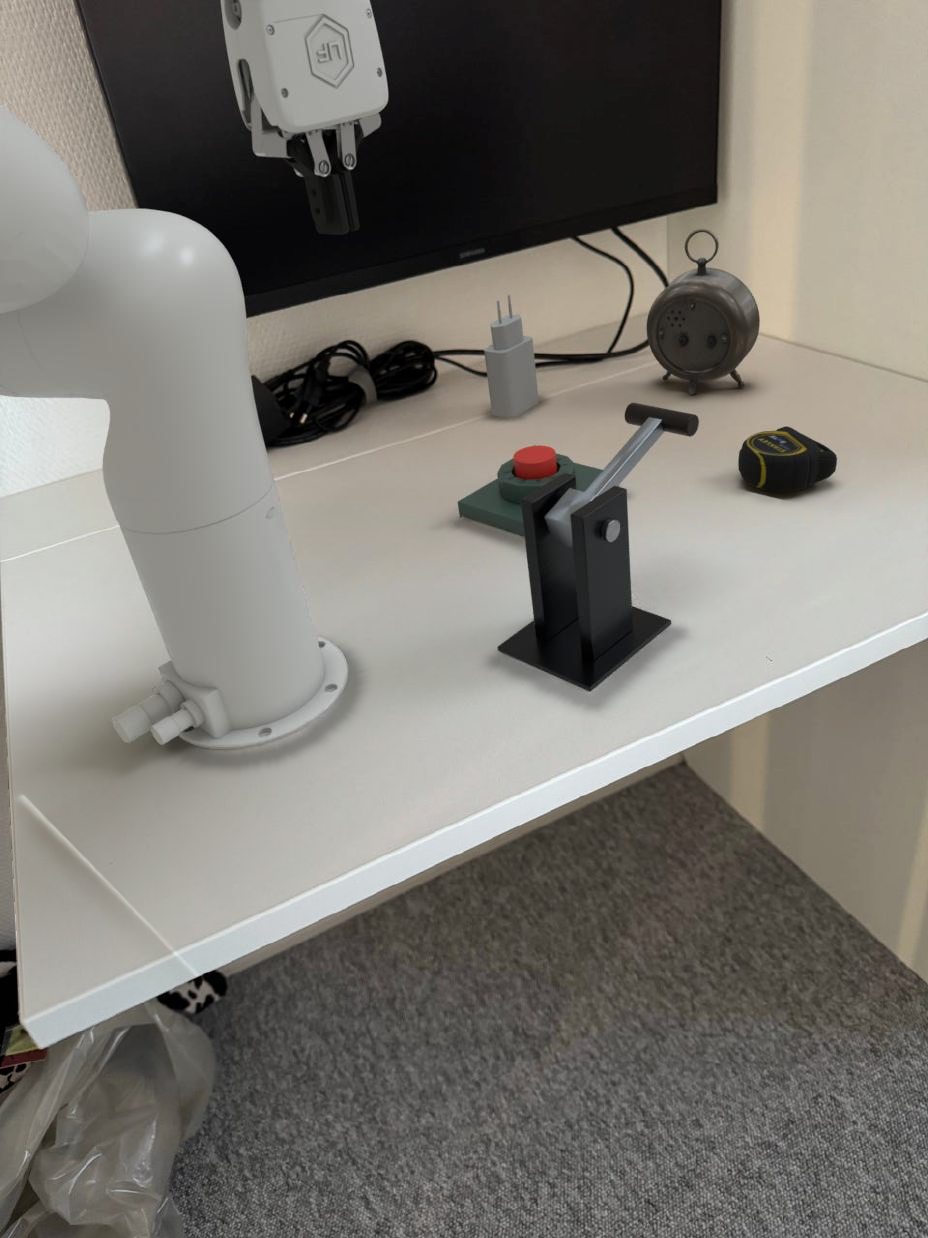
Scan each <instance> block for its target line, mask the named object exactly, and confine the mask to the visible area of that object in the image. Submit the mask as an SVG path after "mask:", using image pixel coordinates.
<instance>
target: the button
mask: <svg viewBox="0 0 928 1238" xmlns="http://www.w3.org/2000/svg"><path fill="white" fill-rule="evenodd" d="M556 454H557V453H556V450H555V449H554V448H553V447H551V446H549V445H531V446H526V447H523V448H520V449H518V450H517V451H516V452H514V454H513V456H512V457H513V458H512V459H514V467H515V475H516V477H517V478H521V479H524V480H531V479H542V478H546V477H550V476H552V475H554V474H555V473H557V462H556Z"/></svg>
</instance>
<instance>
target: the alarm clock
mask: <svg viewBox="0 0 928 1238" xmlns="http://www.w3.org/2000/svg"><path fill="white" fill-rule="evenodd" d="M699 233H706V234H708V235H709V236H710V237H712V239H713V241H714V244H715V250H714V252H713V253H712V256H711V257H710V258H708V259H707V258H706V257H699V258H698V259H695V258H694V257H692V256H691V254H690V251H689V242H690V240H691V238H692V237H694V236H695V235H697V234H699ZM718 239H719V238H718V237H717V236H716V234H715V233H714V232H713V231H711V230H709V229H707V228H698V229H697V228H696V229H695V230H693V231H692V232H691V233H689V235H688V236H687V237H686V239H685V242H684V253H685V254H686V256H687V258H688V259H689V260H690V261H691V262H692V263H696V265H697V268H693V269H690V270H687V271H684V272H683V273H682V274H680V275H678V276H677V277H676V278H674V279H673V280H672V281H671V282H670V283H669V285H668V286H666V287H665V288H664V289H663V290H662V291H661V292H660V293H659V294H658V295H657V297H656V298H655V299H654V301H653V303H652V304H651V306H650V309H649V312H648V315H647V319H646V338H647V342H648V346H649V349H650V351H651V353H652V355H653V357H654V358H655V360H656V361H657V362H658V364H659V365H660V367H662V368H663V369H664V370H665V371H666V372H665V374H663V375H662V381H664V382H666V381H668V380H669V378H670V376H674V377H675V378H678V379H680V380H683V381H686V382H689V384H688V385H689V386H688V394H689V395H690V396H692V395H694V394H695V393H696V388H697V384H698V383H699V384H704V383H712V382H715V381H718V380H721V379H723V378H725V377H727V376H728V375H730V376H731V378H732V379H733V380H734V381H735V382H736V383H737V386H738V388H740V389H743V388H744V387H745V385H746V383H745V382H744V381H743V380H742V377H741V375H740V374H739V372H738V371H737V370H736V369H737V368H738V366H740V364H741V363H742V362H743V361H744V359H745V358H746V357H747V356H748V355H749V353H750V352H751V351H752V349H753V348H754V346H755V344H756V342H757V340H758V337H759V332H760V326H761V325H760V321H761V320H760V319H761V318H760V311H759V305H758V303H757V300H756V298H755V297H754V295H753V293H752V292H751V290H750V289H749V287H748V286H747V285H746V284H745V283H744V282H743V281H742V280H741V279H740V278H738V277H737V276H735V275H734V274H732V273H730V272H728V271H726V270H723V269H720V268H715V267H706V266H707V264H708V263H710V262H712V260H713V259H714V258H715V257H716V256H717V254H718V251H719V247H720V243H719V240H718Z"/></svg>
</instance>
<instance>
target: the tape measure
mask: <svg viewBox="0 0 928 1238" xmlns="http://www.w3.org/2000/svg"><path fill="white" fill-rule="evenodd" d="M737 460H738V461H737V462H738V463H737V464H738V472H739V473H740V477H741V478H742V479H743V480H744V481H745V483H747V484H749V485H750V486H752V487H755V488H757V489H760V490H762V491H767V492H768V491H769V492H774V493H775V492H776V493H787V492H795V491H796V492H797V491H801V490H805V488H808V487H810V486H812V485H814V484H816V483H818V482H821V481H825V480H827V479H829V478H831V476H833V475H834V473H836V471H837V470H836V469H837V465H838V457H837V454H836V453H835V452H834V451H833V450H832V449H831V448H829V447H828V446H826V445H825V444H822V443H820V442H819V441H816V440H815V439H813V438H811V437H809V436H807V435H805V434H803V433H801V432H799V431H798V430H796V429H794V428H792V427H791V426H782V427H779V428H777V429H776V430H765V431H760V432H756V433H753V434H752V435H750V436H748V437H747V438H746V439H745V440H744V441H742V445H741V448H740V450H739V452H738V459H737Z"/></svg>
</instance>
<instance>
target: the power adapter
mask: <svg viewBox="0 0 928 1238" xmlns="http://www.w3.org/2000/svg"><path fill="white" fill-rule="evenodd" d="M507 303H508V305H507V306H508V314H509V315H506V316H504V317H502V311H501V306H500V300H499V299H497V300H496V306H497V307H496V308H497V317H498V319H497V320H495V321H493V322H491V323H490V324H489V325H490V333H491V341H492V344H491V345H489V346H487V347H486V348H484V349H483V352H484V353H483V354H484V360H485V368H486V377H487V384H488V385H487V386H488V393H489V400H490V409H491V414H492V416H494V417H499V418H504V419H513V418H516V417H517V416H519V415H521V414H523V413H524V412H525V411H528V410H529V409H531V408H532V407H533V406H536V405H537V404H539V390H538V379H537V371H536V360H535V349H534V348H535V347H534V338H533V336H530V335H524V330H523V320H522V315H521V314H517V313H516V314H513V308H512V301H511V294H507Z"/></svg>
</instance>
